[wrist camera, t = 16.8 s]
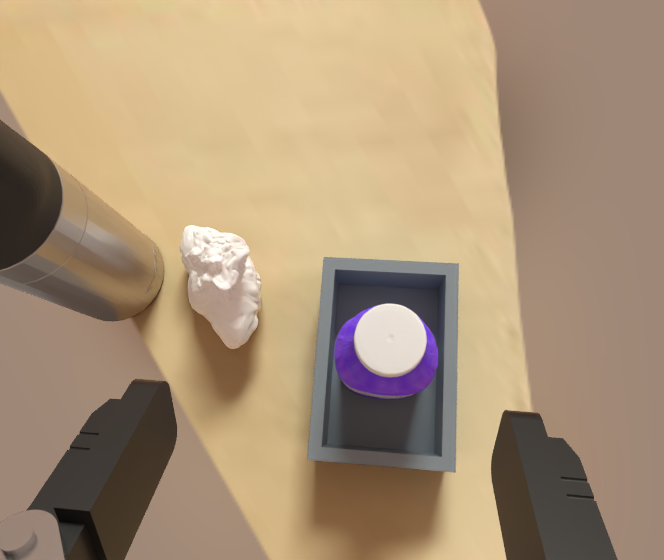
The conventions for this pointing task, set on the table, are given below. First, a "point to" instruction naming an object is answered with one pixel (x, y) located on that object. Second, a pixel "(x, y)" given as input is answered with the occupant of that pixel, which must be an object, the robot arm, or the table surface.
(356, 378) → the bottle
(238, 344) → the bust
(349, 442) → the tote
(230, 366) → the table surface
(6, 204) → the robot arm
